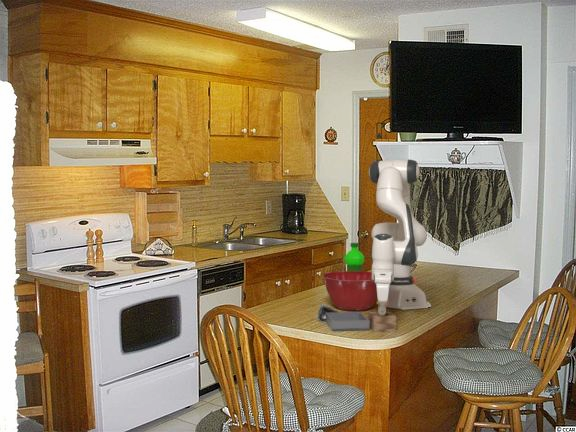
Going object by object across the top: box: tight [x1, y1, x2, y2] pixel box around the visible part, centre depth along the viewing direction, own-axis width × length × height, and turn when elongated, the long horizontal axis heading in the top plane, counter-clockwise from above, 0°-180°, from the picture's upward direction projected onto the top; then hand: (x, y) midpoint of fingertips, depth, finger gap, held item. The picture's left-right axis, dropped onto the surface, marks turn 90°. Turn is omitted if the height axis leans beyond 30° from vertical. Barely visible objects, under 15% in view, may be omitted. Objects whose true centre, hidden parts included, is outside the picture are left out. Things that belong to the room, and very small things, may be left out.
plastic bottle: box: [344, 242, 365, 271], centre depth 332 cm, size 10×10×25 cm
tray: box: [325, 311, 370, 332], centre depth 258 cm, size 15×15×4 cm
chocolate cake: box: [317, 303, 339, 323], centre depth 269 cm, size 10×7×12 cm
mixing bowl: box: [322, 270, 378, 312], centre depth 290 cm, size 28×28×15 cm
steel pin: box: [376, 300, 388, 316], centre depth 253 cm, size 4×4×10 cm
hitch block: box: [367, 311, 397, 333], centre depth 253 cm, size 9×9×6 cm
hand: (382, 309), depth 253 cm, fingers closed on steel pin, 3 cm apart
